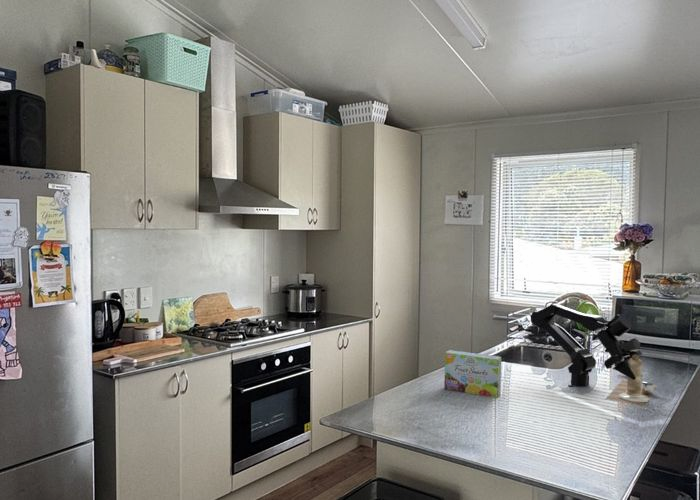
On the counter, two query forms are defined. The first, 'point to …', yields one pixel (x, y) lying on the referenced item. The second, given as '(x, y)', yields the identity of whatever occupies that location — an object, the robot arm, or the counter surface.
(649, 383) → the spice tin
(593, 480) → the counter surface
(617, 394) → the serving board
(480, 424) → the counter surface
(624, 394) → the white saucer
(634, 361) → the pepper mill
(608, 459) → the counter surface
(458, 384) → the snack box
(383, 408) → the counter surface
